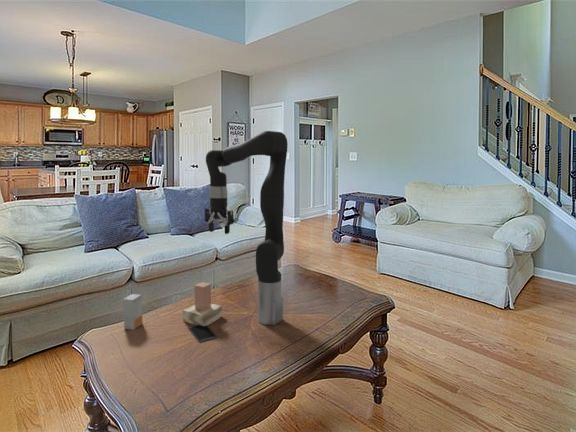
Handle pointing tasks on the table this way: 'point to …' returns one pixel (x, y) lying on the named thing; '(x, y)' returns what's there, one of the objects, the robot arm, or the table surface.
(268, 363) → the table surface
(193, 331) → the cell phone
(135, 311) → the skincare box
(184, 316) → the birch riser
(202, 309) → the terracotta block
